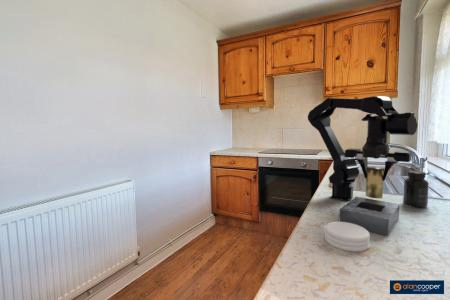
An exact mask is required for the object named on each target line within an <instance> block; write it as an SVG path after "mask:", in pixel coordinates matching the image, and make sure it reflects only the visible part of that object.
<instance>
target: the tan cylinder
mask: <svg viewBox="0 0 450 300" xmlns="http://www.w3.org/2000/svg"><path fill="white" fill-rule="evenodd" d="M384 169H385V167H381V166H368V167H367V176H366V178H365V180H366V181H365V197H368V198H369V199H383V194H384V193H383V192H384V181H383V174H384Z"/></svg>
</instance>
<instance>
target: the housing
mask: <svg viewBox="0 0 450 300" xmlns="http://www.w3.org/2000/svg"><path fill="white" fill-rule="evenodd" d="M400 205H401V204H400V203H396V202H389V201H384V200H379V199H374V198H369V197H368V198H366V197H361V196H355V197H353V199H352V198H351V199H350V201H347V203H345V204H344V205H343V206H342V207H340V209H339V220H338V222H347V223H352V224H356V225H359V226H361V227H363V228H365V229H366V230H367V231H368V232H369V233H374V234H378V235H382V236H386V237H389V235H390V234H391V232H392V230H393V229H394V227H395V226H396V224H397V222H398V220H399V219H400Z"/></svg>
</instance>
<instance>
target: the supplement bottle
mask: <svg viewBox="0 0 450 300" xmlns="http://www.w3.org/2000/svg"><path fill="white" fill-rule="evenodd" d="M429 185H430V184H429V182H428V180H426V172H425V171H421V170H420V171H419V170H409V171H407V178H405V179H404V180H403V193H402V194H403V197H402V203H403V205H405V206H407V207H411V208H416V209H417V208H418V209H423V208H424V209H425V208H427V207H428V203H429V187H430V186H429Z"/></svg>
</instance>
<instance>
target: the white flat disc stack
mask: <svg viewBox="0 0 450 300" xmlns="http://www.w3.org/2000/svg"><path fill="white" fill-rule="evenodd" d="M370 236H371V235H370V232H369V231H367V230H366V229H365V228H363V227H361V226H359V225H356V224H352V223H347V222H339V221H332V222H329V223H327V224H326V225H325V226H324V240H325V242H326V243H328V245H331V246H332V247H333V248H336V249H338V250H342V251H345V252H353V253H357V252H364V251H366V250H368V249H369V247H370V241H371V240H370Z"/></svg>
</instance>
